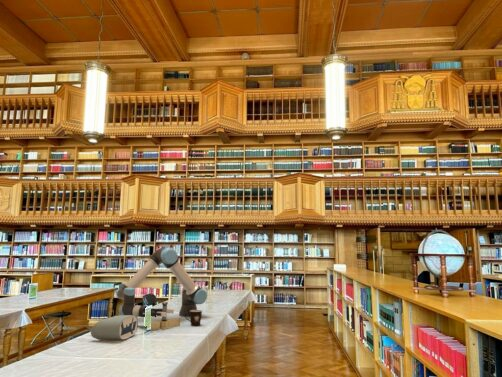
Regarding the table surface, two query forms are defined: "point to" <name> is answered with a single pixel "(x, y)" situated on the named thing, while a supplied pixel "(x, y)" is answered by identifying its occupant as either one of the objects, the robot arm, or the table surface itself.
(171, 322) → the hinge leaf
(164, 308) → the hinge pin
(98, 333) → the pencil case
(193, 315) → the coffee mug
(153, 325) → the hinge leaf
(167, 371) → the table surface
